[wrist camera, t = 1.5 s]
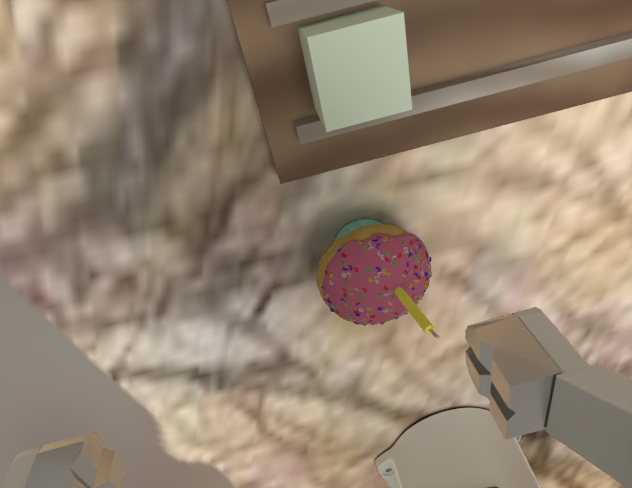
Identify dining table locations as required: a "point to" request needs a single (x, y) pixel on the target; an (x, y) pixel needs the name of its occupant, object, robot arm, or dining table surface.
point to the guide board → (436, 71)
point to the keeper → (357, 66)
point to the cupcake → (375, 274)
